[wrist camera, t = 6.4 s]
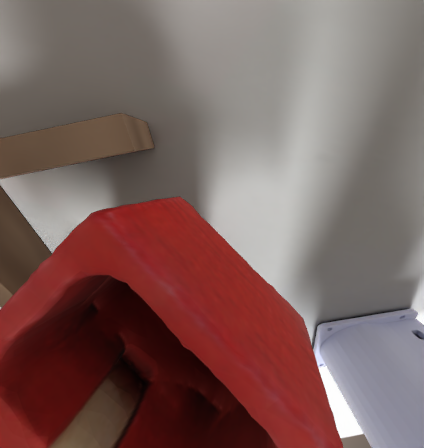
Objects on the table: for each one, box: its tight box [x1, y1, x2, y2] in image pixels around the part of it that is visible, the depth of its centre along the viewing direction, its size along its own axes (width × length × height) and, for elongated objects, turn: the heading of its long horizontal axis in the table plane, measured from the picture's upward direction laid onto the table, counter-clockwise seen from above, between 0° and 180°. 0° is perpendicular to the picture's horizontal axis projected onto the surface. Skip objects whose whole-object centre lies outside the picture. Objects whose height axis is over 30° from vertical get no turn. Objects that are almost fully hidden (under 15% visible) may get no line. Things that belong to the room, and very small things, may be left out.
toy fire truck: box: [0, 197, 343, 448], centre depth 8 cm, size 3×14×10 cm, turn 138°
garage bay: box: [0, 113, 155, 307], centre depth 12 cm, size 10×20×3 cm, turn 10°
